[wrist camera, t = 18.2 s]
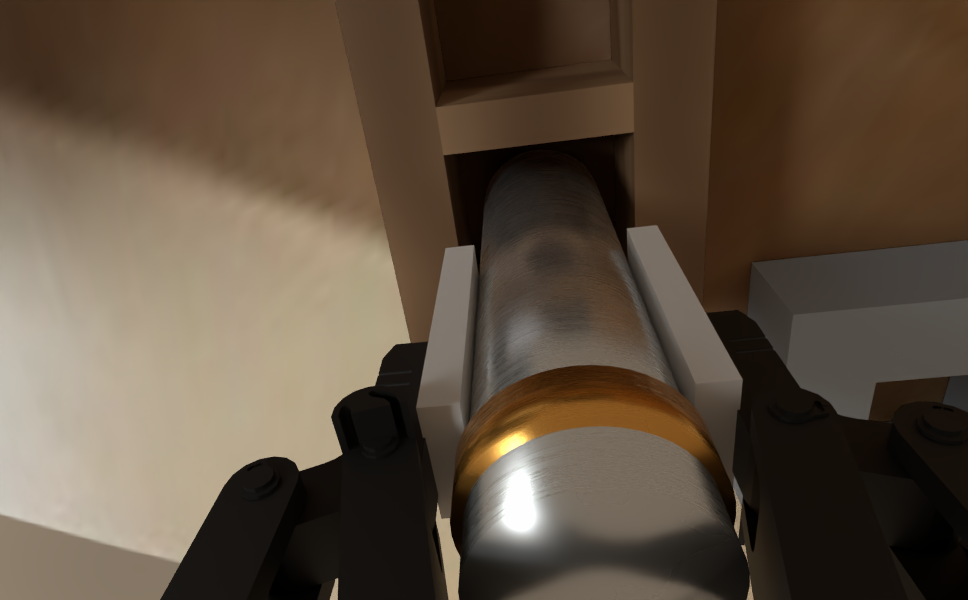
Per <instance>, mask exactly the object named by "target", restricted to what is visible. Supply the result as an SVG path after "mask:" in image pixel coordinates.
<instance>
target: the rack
mask: <svg viewBox="0 0 968 600" xmlns="http://www.w3.org/2000/svg"><path fill="white" fill-rule="evenodd" d="M335 4H336V8H337V13H338V17H339V22H340V26H341V31H342V35H343V40H344V44H345V49H346V53H347V58H348V62H349V67H350V71H351V76H352V80H353V85H354V89H355V94H356V98H357V103H358V107H359V112H360V116H361V121H362V125H363V130H364V134H365V139H366V143H367V148H368V152H369V157H370V161H371V166H372V170H373V175H374V179H375V184H376V188H377V193H378V197H379V202H380V206H381V211H382V215H383V220H384V224H385V229H386V233H387V238H388V242H389V247H390V251H391V256H392V260H393V265H394V269H395V274H396V278H397V283H398V287H399V292H400V296H401V301H402V305H403V310H404V314H405V319H406V323H407V328H408V332H409V337H410V341H411V343H417V342H428V341H429V335H430V330H431V324H432V319H433V313H434V308H435V303H436V297H437V292H438V286H439V281H440V276H441V270H442V265H443V259H444V254H445V248H451V247H461V246H470V245H471V241H470V234H469V228H468V221H467V215H466V208H465V202H464V195H463V189H462V182H461V175H460V169H459V162H458V156H457V154H459V153H467V152H475V151H483V150H491V149H500V148H508V147H516V146H524V145H533V144H541V143H549V142H557V141H566V140H574V139H582V138H590V137H599V136H607V135H614V170H615V205H616V234H617V237H618V239H619V242H620V244H621V247H622V249H623V252H624V254H625V257H626V259H627V262H628V257H627V228H635V227H645V226H654V225H657V226H658V228H659V230H660V232H661V233H662V235H663V237H664V239H665V241H666V242H667V244H668V246H669V248H670V250H671V251H672V253H673V255H674V257H675V259H676V260H677V262H678V264H679V266H680V268H681V269H682V271H683V273H684V275H685V277H686V278H687V280H688V282H689V284H690V286H691V287H692V289H693V291H694V293H695V295H696V296H697V298H698V300H699V302H700V304H701V305H702V307H703V293H704V271H705V250H706V229H707V208H708V187H709V166H710V145H711V123H712V102H713V81H714V60H715V39H716V18H717V0H610V30H611V60H604V61H597V62H589V63H582V64H574V65H566V66H559V67H551V68H543V69H536V70H528V71H521V72H513V73H505V74H498V75H490V76H483V77H475V78H467V79H460V80H452V81H446V77H445V70H444V64H443V57H442V51H441V44H440V38H439V31H438V25H437V18H436V11H435V5H434V0H335ZM477 268H478V275H480V264H477Z"/></svg>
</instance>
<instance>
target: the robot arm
mask: <svg viewBox="0 0 968 600" xmlns="http://www.w3.org/2000/svg"><path fill="white" fill-rule="evenodd" d="M627 257H628V264H629V267H630V269H631V272H632V274H633V277H634V279H635V282H636V284H637V287H638V289H639V292H640V294H641V297H642V299H643V302H644V304H645V307H646V309H647V312H648V314H649V317H650V319H651V322H652V324H653V327H654V329H655V332H656V334H657V337H658V339H659V342H660V344H661V347H662V349H663V352H664V354H665V357H666V359H667V362H668V364H669V367H670V369H671V372H672V374H673V377H674V379H675V382H676V384H677V387H678V389H679V392H680V393H681V394H682V395H683V396H684V397H685V398H687V399H688V400H689V401H690V403H691V404H692V405H693V406H694V407H695V408H696V409H697V410H698V412H699V414H700V415H701V417H702V418H703V420H704V421H705V424H706V426H707V428H708V431H709V433H710V435H711V438H712V440H713V442H714V445H715V447H716V449H717V452H718V454H719V456H720V459H721V461H722V463H723V466H724V468H725V470H726V473H727V475H728V477H729V480H730V482H731V485H732V487H733V483H734V476H735V479H736V481H737V483H738V486H739V488H740V490H741V492H742V495H743V499H742V509H741V519H740V529H739V542H740V544H741V545H745V546H746V553H747V559H748V566H749V572H750V579H751V585H752V592H753V598H754V600H968V412H966V411H964V410H961V409H959V408H957V407H954V406H951V405H946V404H941V403H937V402H913V403H909V404H906V405H902V406H901V407H900V408H899V409H898V410H896V411H895V412H894V415H893V420H892V423H887V422H879V421H872V420H864V419H856V418H851V417H846V416H842V415H839V414H837V412H836V410H835V409H834V408H833V406H832V405H831V403H830V402H829V401H827V400H826V399H824V398H823V397H821V396H820V395H818V394H816V393H813V392H811V391H808V390H805V389H802V388H800V386H799V385H798V383H797V382H796V380H795V379H794V377H793V376H792V374H791V373H790V371H789V370H788V369H787V367H786V366H785V364H784V363H783V361H782V360H781V358H780V357H779V355H778V354H777V352H776V351H775V350H773V346H772V345H771V343H770V342H769V340H768V339H766V338H765V335H764V333H763V332H762V330H761V329H760V327H759V326H758V324H757V323H756V321H754V320H752V319H751V318H749V317H748V316H746V315H745V314H743V313H741V312H740V311H738V310H733V311H723V312H712V313H705V311H704V309H703V307H702V305H701V304H700V302H699V300H698V298H697V296H696V295H695V293H694V291H693V289H692V287H691V286H690V284H689V282H688V280H687V278H686V277H685V275H684V273H683V271H682V269H681V268H680V266H679V264H678V262H677V260H676V259H675V257H674V255H673V253H672V251H671V250H670V248H669V246H668V244H667V242H666V241H665V239H664V237H663V235H662V233H661V232H660V230H659V228H658V226H657V225H654V226H645V227H635V228H627ZM478 290H479V275H478V268H477V261H476V255H475V248H474V245H470V246H461V247H451V248H445V254H444V259H443V265H442V270H441V276H440V281H439V286H438V292H437V297H436V303H435V308H434V313H433V319H432V324H431V330H430V335H429V341H428V342H417V343H407V344H396V345H395V346H394V347H393V348H392V349H391V350H390V351H389V352H388V353H387V355H386V356H385V357H384V358H383V360H382V364H381V367H380V371H379V376H378V378H377V381H376V385H375V386H372V387H367V388H364V389H360V390H357V391H355V392H353V393H351V394H350V395H348V396H346V397H345V398H343V399H342V400H341V401H340V402H339V403H338V404H337V405H336V407H335V408H334V410H333V413H332V416H331V418H332V421H333V425H334V428H335V431H336V434H337V437H338V440H339V443H340V447H341V450H342V453H343V454H342V455H341V456H339V457H338V458H336V459H334V460H332V461H329V462H327V463H324V464H321V465H318V466H315V467H312V468H309V469H306V470H302V471H299V470H298V468H297V466H296V464H295V463H294V462H293V461H291V460H289V459H288V458H283V457H269V458H264V459H259V460H257V461H255V462H252V463H250V464H248V465H246V466H244V467H243V468H241V469H240V470H239V471H237V472H236V473H235V474H233V475H232V477H231V478H230V479H229V480H228V482H227V483H226V484H225V485H224V487H223V489H222V491H221V492H220V494H219V496H218V498H217V500H216V501H215V503H214V505H213V507H212V508H211V510H210V512H209V514H208V516H207V517H206V519H205V521H204V523H203V525H202V526H201V528H200V530H199V532H198V533H197V535H196V537H195V539H194V541H193V542H192V544H191V546H190V548H189V549H188V551H187V553H186V555H185V557H184V558H183V560H182V562H181V564H180V566H179V568H178V569H177V571H176V573H175V574H174V576H173V578H172V580H171V582H170V583H169V585H168V587H167V589H166V590H165V592H164V594H163V596H162V598H161V599H160V600H330V596H331V593H332V590H333V586H334V583H335V579H336V578H338V600H448V593H447V586H446V579H445V572H444V565H443V558H442V551H441V544H440V537H439V533H438V529H437V525H436V512H437V503H438V505H439V510H440V514H441V518H442V519H443V518H450V516H451V502H452V491H453V480H454V469H455V458H456V452H457V448H458V443H459V441H460V438H461V436H462V434H463V431H464V429H465V428H466V426H467V424H468V423H469V421H470V409H471V394H472V379H473V364H474V349H475V335H476V320H477V305H478Z"/></svg>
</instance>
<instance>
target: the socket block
mask: <svg viewBox="0 0 968 600" xmlns="http://www.w3.org/2000/svg"><path fill="white" fill-rule="evenodd" d="M747 316H748V317H749V318H751V319H752V320H754V321H756V323H757V324H758V326H759V327H760V329H761V330H762V332H763V333H764V335H765V338H766V339H768V340H769V342H770V343H771V345H772V346H773V350H775V351H776V352H777V354H778V355H779V357H780V358H781V360H782V361H783V363H784V364H785V366H786V367H787V369H788V370H789V371H790V373H791V374H792V376H793V377H794V379H795V380H796V382H797V383H798V385H799V386H800V388H802V389H805V390H808V391H811V392H813V393H816V394H818V395H820V396H821V397H823V398H824V399H826V400H827V401H829V402H830V403H831V405H832V406H833V408H834V409H835V410H836V412H837V414H839V415H842V416H846V417H851V418H856V419H864V420H868V418H869V413H870V409H871V404H872V400H873V395H874V390H875V386H876V383H878V382H890V381H902V380H913V379H925V378H937V377H948V376H950V379H949V382H948V386H947V389H946V393H945V396H944V400H943V403H942V404H946V405H951V406H954V407H957V408H959V409H961V410H964V411H966V412H968V240H965V241H955V242H945V243H936V244H926V245H916V246H906V247H897V248H887V249H877V250H868V251H858V252H848V253H838V254H829V255H819V256H809V257H799V258H790V259H780V260H770V261H761V262H752V265H751V277H750V288H749V300H748V311H747ZM887 423H892V421H889V422H887ZM733 487H734V489H735V492H736V494H737V496H738V499H739V501H740V503H741V506H742V499H743V495H742V492H741V490H740V488H739V486H738V483H737V481H736V479H735V476H734V483H733Z"/></svg>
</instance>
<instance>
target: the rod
mask: <svg viewBox="0 0 968 600" xmlns="http://www.w3.org/2000/svg"><path fill="white" fill-rule="evenodd" d="M735 518H736V500H735V495H734V490H733V487H732V485H731V482H730V480H729V477H728V475H727V473H726V470H725V468H724V466H723V463H722V461H721V459H720V456H719V454H718V452H717V449H716V447H715V445H714V442H713V440H712V438H711V435H710V433H709V431H708V428H707V426H706V424H705V421H704V420H703V418H702V417H701V415H700V414H699V412H698V410H697V409H696V408H695V407H694V406H693V405H692V404H691V403H690V401H689V400H688V399H687V398H685V397H684V396H683V395H682V394H681V393H680V392H679V389H678V387H677V384H676V382H675V379H674V377H673V374H672V372H671V369H670V367H669V364H668V362H667V359H666V357H665V354H664V352H663V349H662V347H661V344H660V342H659V339H658V337H657V334H656V332H655V329H654V327H653V324H652V322H651V319H650V317H649V314H648V312H647V309H646V307H645V304H644V302H643V299H642V297H641V294H640V292H639V289H638V287H637V284H636V282H635V279H634V277H633V274H632V272H631V269H630V267H629V264H628V262H627V259H626V257H625V254H624V252H623V249H622V247H621V244H620V242H619V239H618V237H617V234H616V232H615V229H614V227H613V224H612V222H611V219H610V217H609V214H608V212H607V209H606V207H605V204H604V202H603V199H602V197H601V194H600V192H599V189H598V187H597V185H596V182H595V180H594V178H593V176H592V175H591V173H590V172H589V170H588V169H587V168H586V167H585V166H584V165H583V164H582V163H581V162H580V161H578V160H577V159H575V158H574V157H572V156H570V155H568V154H565V153H562V152H559V151H554V150H545V149H544V150H534V151H528V152H525V153H522V154H520V155H518V156H516V157H514V158H512V159H510V160H509V161H507V162H506V163H505V164H504V165H503V166H501V167H500V169H499V170H498V171H497V172H496V173H495V175H494V176H493V177H492V179H491V181H490V183H489V185H488V188H487V191H486V195H485V200H484V215H483V230H482V245H481V260H480V275H479V290H478V305H477V320H476V335H475V349H474V364H473V379H472V394H471V409H470V421H469V423H468V424H467V426H466V428H465V429H464V431H463V434H462V436H461V438H460V441H459V443H458V448H457V452H456V458H455V469H454V480H453V491H452V502H451V516H450V526H451V534H452V538H453V541H454V544H455V547H456V549H457V551H458V553H459V555H460V557H461V558H460V573H459V588H458V593H459V600H746V599H747V595H748V591H749V586H750V572H749V567H748V562H747V559H746V557H745V554H744V552H743V549H742V547H741V544H740V542H739V539H738V537H737V534H736V532H735V529H734V523H735Z"/></svg>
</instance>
